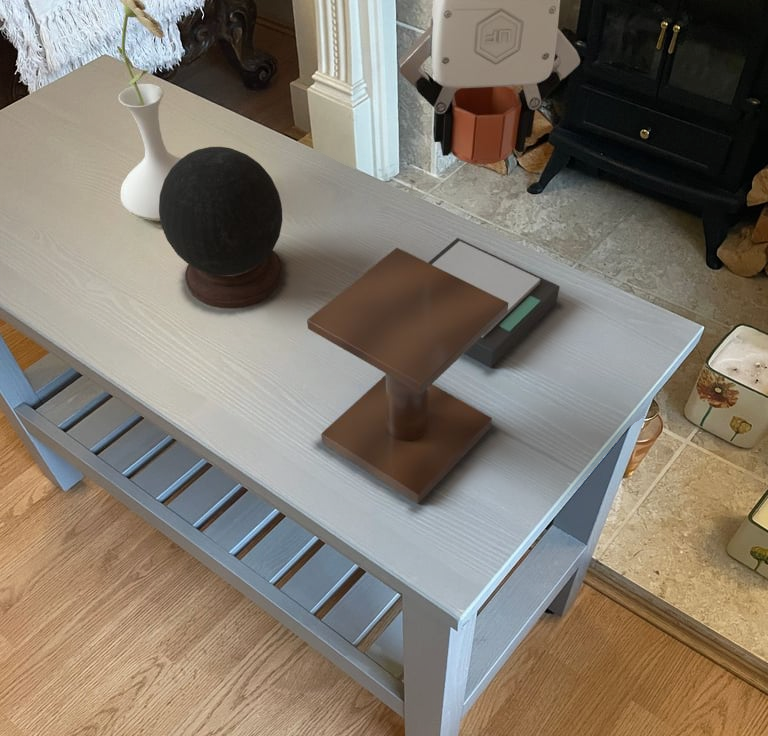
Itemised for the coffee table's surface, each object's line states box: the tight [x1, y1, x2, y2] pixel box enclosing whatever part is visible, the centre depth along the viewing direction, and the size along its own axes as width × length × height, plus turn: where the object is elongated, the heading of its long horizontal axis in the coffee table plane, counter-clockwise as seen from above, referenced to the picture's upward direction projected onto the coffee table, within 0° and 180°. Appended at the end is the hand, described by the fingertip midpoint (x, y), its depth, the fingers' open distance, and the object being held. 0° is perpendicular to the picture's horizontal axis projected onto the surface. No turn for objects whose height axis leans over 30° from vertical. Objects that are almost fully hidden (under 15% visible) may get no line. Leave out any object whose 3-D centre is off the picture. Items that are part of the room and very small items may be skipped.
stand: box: [306, 247, 509, 505], centre depth 73 cm, size 12×12×16 cm
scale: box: [427, 237, 561, 369], centre depth 89 cm, size 14×13×3 cm
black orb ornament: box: [159, 146, 283, 309], centre depth 88 cm, size 13×13×15 cm
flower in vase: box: [116, 0, 183, 222], centre depth 93 cm, size 13×11×25 cm
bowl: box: [450, 86, 522, 165], centre depth 73 cm, size 6×6×4 cm
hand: (481, 144), depth 75 cm, fingers closed on bowl, 6 cm apart
